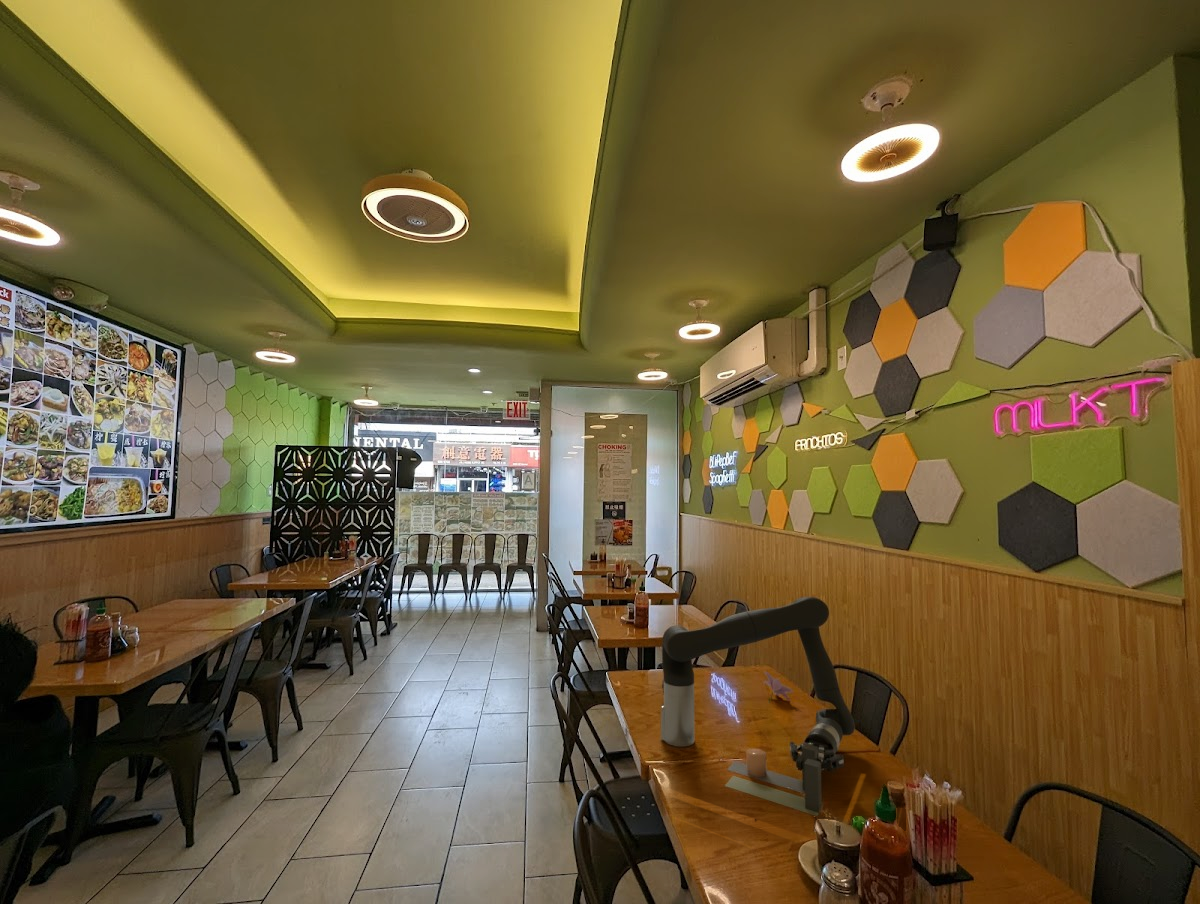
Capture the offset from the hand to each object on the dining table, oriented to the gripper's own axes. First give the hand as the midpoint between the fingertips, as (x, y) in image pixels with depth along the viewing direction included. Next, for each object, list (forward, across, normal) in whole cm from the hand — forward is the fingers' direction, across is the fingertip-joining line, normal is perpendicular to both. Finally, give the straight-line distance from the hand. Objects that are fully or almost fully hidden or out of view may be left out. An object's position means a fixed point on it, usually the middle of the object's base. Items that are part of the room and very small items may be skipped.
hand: (807, 768), depth 131 cm
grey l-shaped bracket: (-3, -10, +7) cm, 12 cm away
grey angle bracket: (+5, -7, +7) cm, 11 cm away
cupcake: (-39, -55, +8) cm, 68 cm away
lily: (-62, -25, +8) cm, 67 cm away
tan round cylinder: (-3, -14, +6) cm, 15 cm away
